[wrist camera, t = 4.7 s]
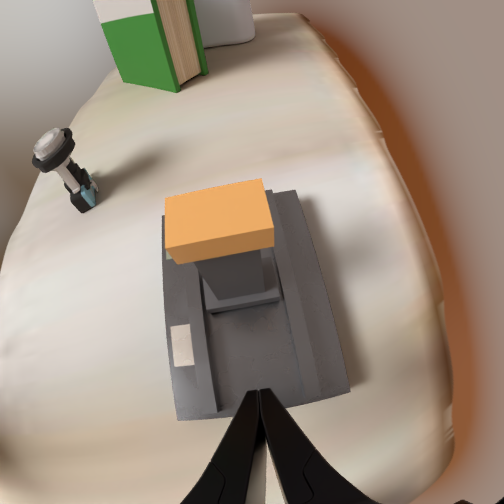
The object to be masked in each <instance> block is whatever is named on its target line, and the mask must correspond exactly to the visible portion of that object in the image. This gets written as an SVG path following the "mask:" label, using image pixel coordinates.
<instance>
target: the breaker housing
mask: <svg viewBox="0 0 504 504" xmlns="http://www.w3.org/2000/svg"><path fill="white" fill-rule="evenodd" d="M265 194H266V198H267V202H268V206H269V210H270V213H271V217H272V221H273V225H274V247H268V248H263V249H260V250H261V258H266V257H271V258H272V263H273V267H274V272H275V276H276V281H277V286H278V290H279V295H280V301H275V302H270V303H265V304H260V305H254V306H249V307H244V308H238V309H232V310H227V311H221V312H215V313H209V312H208V311H207V310H206V303H205V294H204V285H203V277H202V275H201V273H200V272H199V270H198V269H197V267H196V266H195V264H194V263H193V262H189V263H184V264H179V265H177V264H176V262H175V261H174V260H173V258H172V257H171V256H170V254H169V253H168V252H167V250H166V249H165V215H163V216H162V269H163V292H164V309H165V323H166V335H167V345H168V355H169V364H170V372H171V380H172V387H173V394H174V401H175V408H176V414H177V420H178V421H184V420H202V419H214V418H224V417H233V416H234V415H235V413H236V411H237V409H238V407H239V405H240V404H241V402H242V400H243V397H244V395H245V393H246V392H247V391H249V390H258V391H259V390H260V389H264V388H271V389H272V391H273V392H274V394H275V395H276V396H277V398H278V399H279V400H280V402H281V403H282V405H283V406H284V407H285V408H289V407H294V406H299V405H303V404H308V403H312V402H316V401H320V400H324V399H328V398H331V397H335V396H339V395H342V394H346V393H349V392H351V391H350V387H349V382H348V377H347V372H346V368H345V363H344V359H343V355H342V350H341V346H340V342H339V338H338V334H337V330H336V326H335V322H334V318H333V314H332V310H331V306H330V302H329V299H328V295H327V291H326V288H325V284H324V280H323V277H322V273H321V270H320V266H319V263H318V260H317V256H316V253H315V250H314V246H313V243H312V240H311V236H310V233H309V230H308V227H307V224H306V221H305V217H304V214H303V211H302V208H301V205H300V202H299V199H298V196H297V193H296V190H291V191H285V192H279V193H273V192H272V190H266V191H265Z"/></svg>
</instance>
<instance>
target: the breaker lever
mask: <svg viewBox="0 0 504 504" xmlns="http://www.w3.org/2000/svg"><path fill="white" fill-rule="evenodd" d="M268 247H274V225H273V221H272V217H271V213H270V210H269V206H268V202H267V198H266V194H265V190H264V186H263V182H262V179H255V180H249V181H244V182H238V183H233V184H228V185H223V186H218V187H213V188H208V189H203V190H199V191H194V192H190V193H185V194H181V195H177V196H172V197H168V198H165V249H166V250H167V252H168V253H169V254H170V256H171V257H172V258H173V260H174V261H175V262H176V264H177V265H179V264H184V263H189V262H193V263H194V264H195V266H196V267H197V269H198V270H199V272H200V273H201V275H202V277H203V285H204V294H205V303H206V310H207V311H208V312H209V313H215V312H221V311H227V310H232V309H238V308H244V307H249V306H254V305H260V304H265V303H270V302H275V301H280V295H279V290H278V286H277V281H276V276H275V272H274V267H273V263H272V258H271V257H266V258H261V250H260V249H263V248H268Z"/></svg>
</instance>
